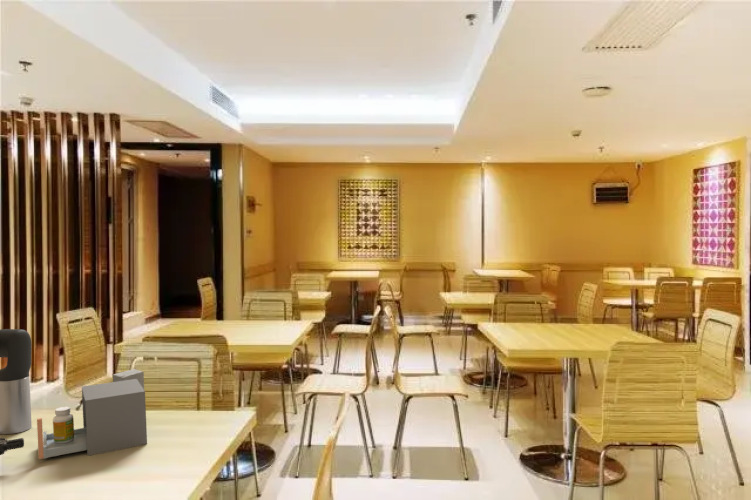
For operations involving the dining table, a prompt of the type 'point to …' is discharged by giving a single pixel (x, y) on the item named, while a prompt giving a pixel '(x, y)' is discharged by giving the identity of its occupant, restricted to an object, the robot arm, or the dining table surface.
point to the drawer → (53, 449)
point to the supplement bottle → (63, 425)
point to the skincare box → (130, 376)
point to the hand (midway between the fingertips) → (23, 442)
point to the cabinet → (114, 416)
